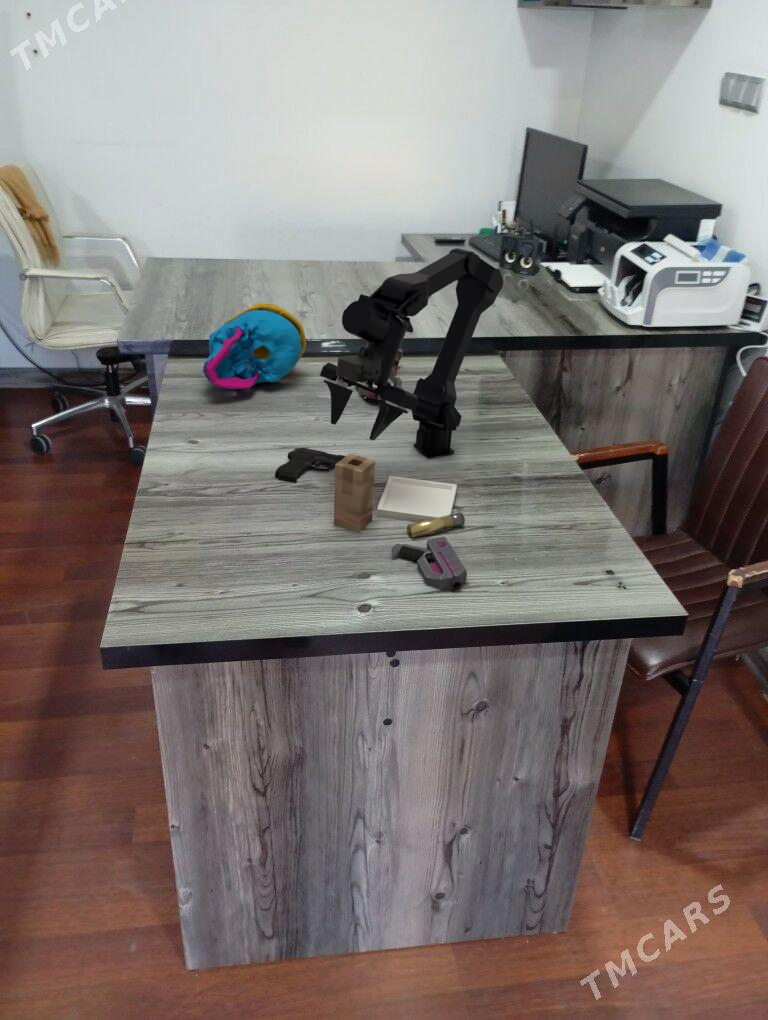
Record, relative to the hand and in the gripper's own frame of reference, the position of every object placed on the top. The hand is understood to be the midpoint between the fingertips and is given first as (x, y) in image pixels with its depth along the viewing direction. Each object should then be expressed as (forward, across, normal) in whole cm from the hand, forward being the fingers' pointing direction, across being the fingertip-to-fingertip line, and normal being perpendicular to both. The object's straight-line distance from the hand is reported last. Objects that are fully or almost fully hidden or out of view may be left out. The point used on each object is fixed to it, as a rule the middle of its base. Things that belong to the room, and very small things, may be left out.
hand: (352, 431), depth 149 cm
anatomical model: (0, -52, +28) cm, 59 cm away
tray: (+8, +11, +12) cm, 18 cm away
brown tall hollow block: (+15, +7, 0) cm, 16 cm away
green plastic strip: (+7, +50, +15) cm, 52 cm away
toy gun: (+16, +25, -2) cm, 30 cm away
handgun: (+10, -10, +9) cm, 17 cm away
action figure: (-9, -28, +45) cm, 54 cm away
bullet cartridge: (+11, +19, +7) cm, 23 cm away
